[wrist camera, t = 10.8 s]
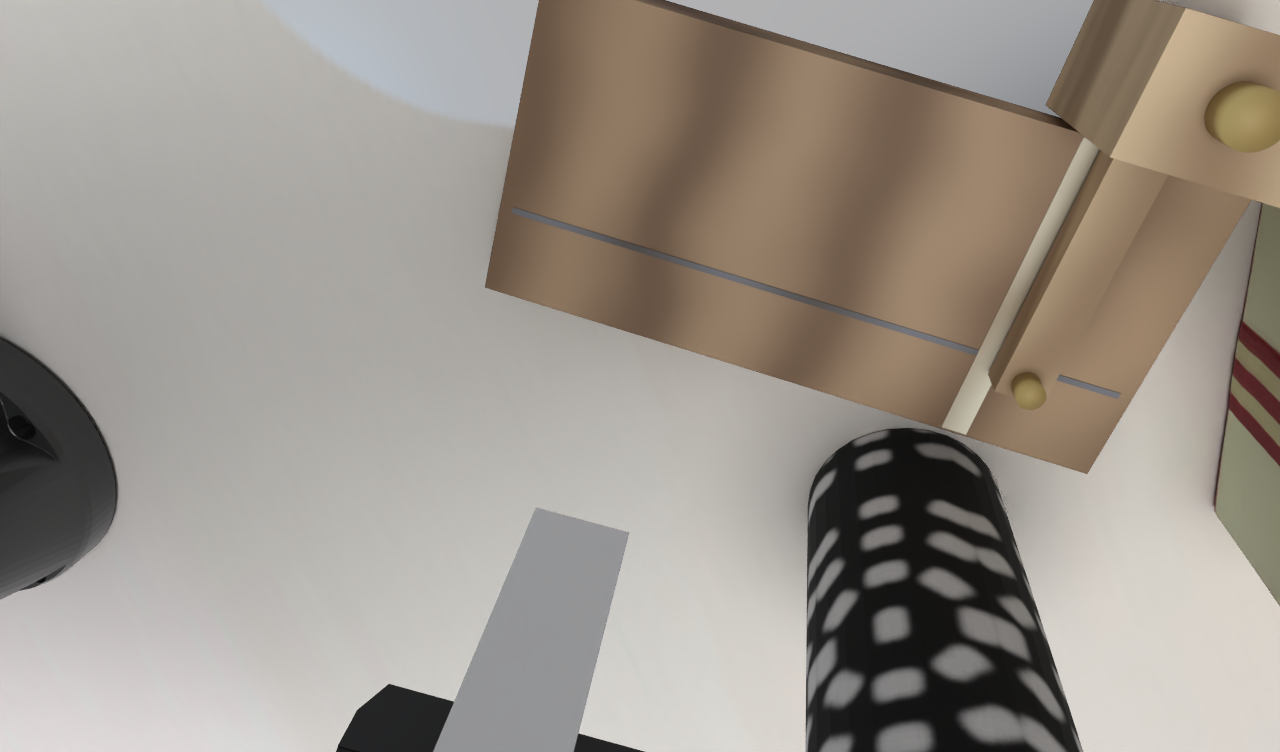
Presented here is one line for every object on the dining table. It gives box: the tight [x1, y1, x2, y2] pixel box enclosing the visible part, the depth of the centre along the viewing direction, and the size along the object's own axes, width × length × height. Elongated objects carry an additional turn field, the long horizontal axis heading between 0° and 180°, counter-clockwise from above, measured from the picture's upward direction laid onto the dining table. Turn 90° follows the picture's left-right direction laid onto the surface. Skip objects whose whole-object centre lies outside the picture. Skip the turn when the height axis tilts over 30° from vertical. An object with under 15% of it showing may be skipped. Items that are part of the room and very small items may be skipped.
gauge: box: [988, 0, 1280, 410], centre depth 30 cm, size 5×13×9 cm, turn 166°
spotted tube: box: [806, 429, 1083, 752], centre depth 32 cm, size 8×8×20 cm
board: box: [485, 0, 1251, 474], centre depth 35 cm, size 25×12×3 cm, turn 75°
